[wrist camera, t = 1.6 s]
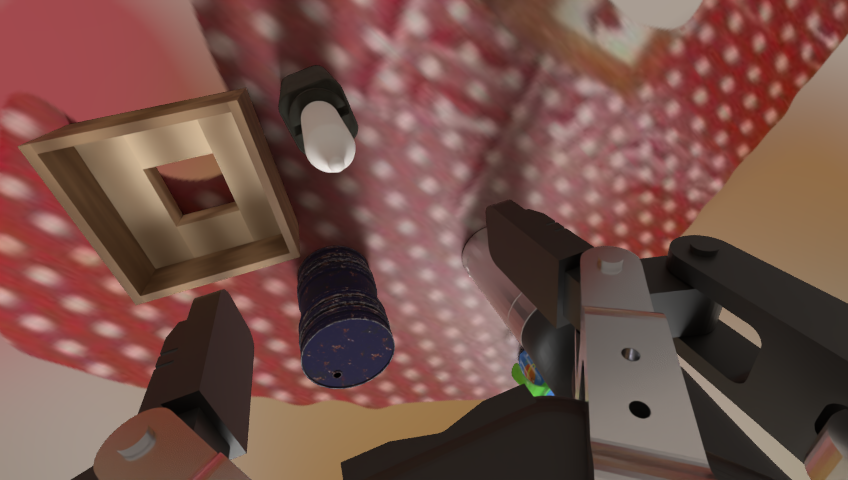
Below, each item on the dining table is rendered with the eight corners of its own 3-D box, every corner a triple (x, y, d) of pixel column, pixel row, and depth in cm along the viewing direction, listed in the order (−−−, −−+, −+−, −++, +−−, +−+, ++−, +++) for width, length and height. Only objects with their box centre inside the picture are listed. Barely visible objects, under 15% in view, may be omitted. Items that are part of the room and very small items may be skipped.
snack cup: (576, 337, 75) (612, 376, 66) (548, 376, 78) (580, 417, 70) (517, 326, 68) (550, 369, 59) (490, 369, 71) (517, 415, 63)
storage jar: (316, 234, 47) (326, 306, 35) (382, 258, 52) (412, 329, 40) (284, 295, 50) (283, 382, 38) (350, 313, 55) (368, 395, 43)
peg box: (246, 87, 38) (237, 100, 31) (298, 224, 46) (300, 256, 39) (69, 124, 35) (17, 146, 28) (159, 262, 43) (136, 305, 37)
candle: (276, 80, 38) (262, 140, 17) (322, 61, 39) (363, 97, 18) (300, 127, 41) (314, 227, 20) (343, 109, 41) (399, 188, 21)
